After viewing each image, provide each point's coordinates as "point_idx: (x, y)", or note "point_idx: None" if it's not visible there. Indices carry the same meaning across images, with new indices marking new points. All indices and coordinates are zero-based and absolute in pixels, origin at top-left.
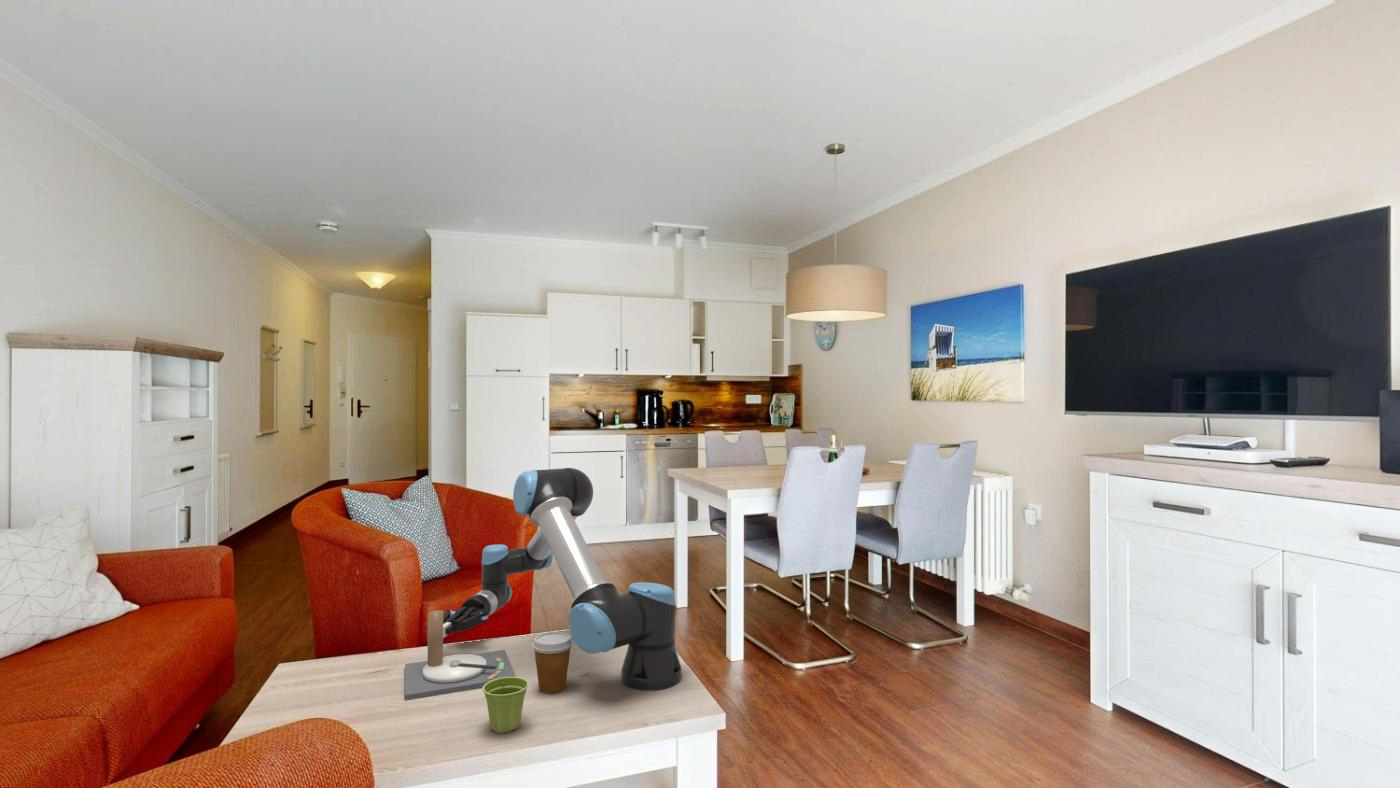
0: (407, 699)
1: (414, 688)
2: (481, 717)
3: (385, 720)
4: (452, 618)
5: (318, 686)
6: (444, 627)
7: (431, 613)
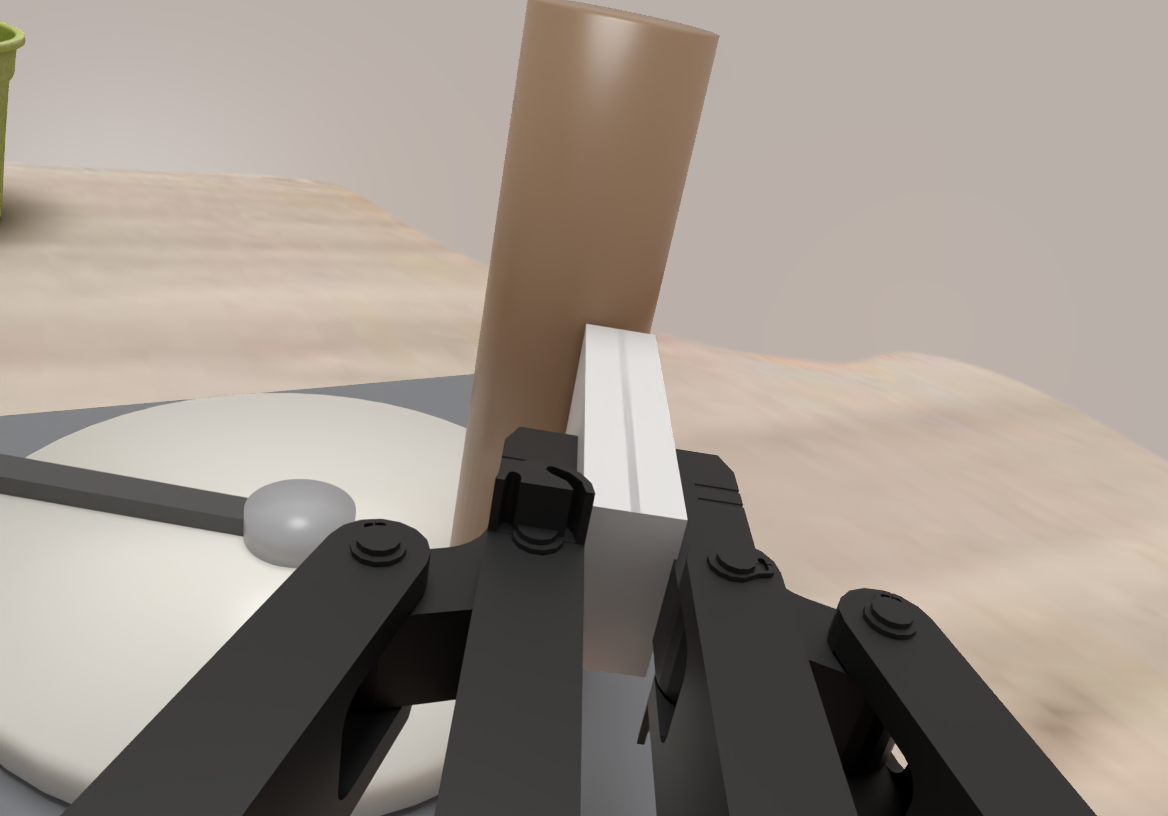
0: None
1: None
2: (40, 265)
3: None
4: (733, 721)
5: (1140, 551)
6: (584, 394)
7: (651, 18)
